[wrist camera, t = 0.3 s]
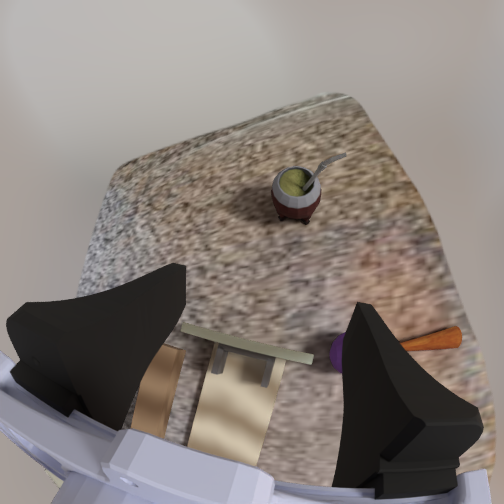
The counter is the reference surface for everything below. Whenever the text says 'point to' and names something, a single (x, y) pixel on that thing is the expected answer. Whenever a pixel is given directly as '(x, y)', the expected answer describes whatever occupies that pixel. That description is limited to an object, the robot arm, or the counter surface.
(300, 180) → the mate gourd
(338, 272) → the counter surface
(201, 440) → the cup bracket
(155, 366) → the rail
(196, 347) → the counter surface
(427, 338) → the kendama
